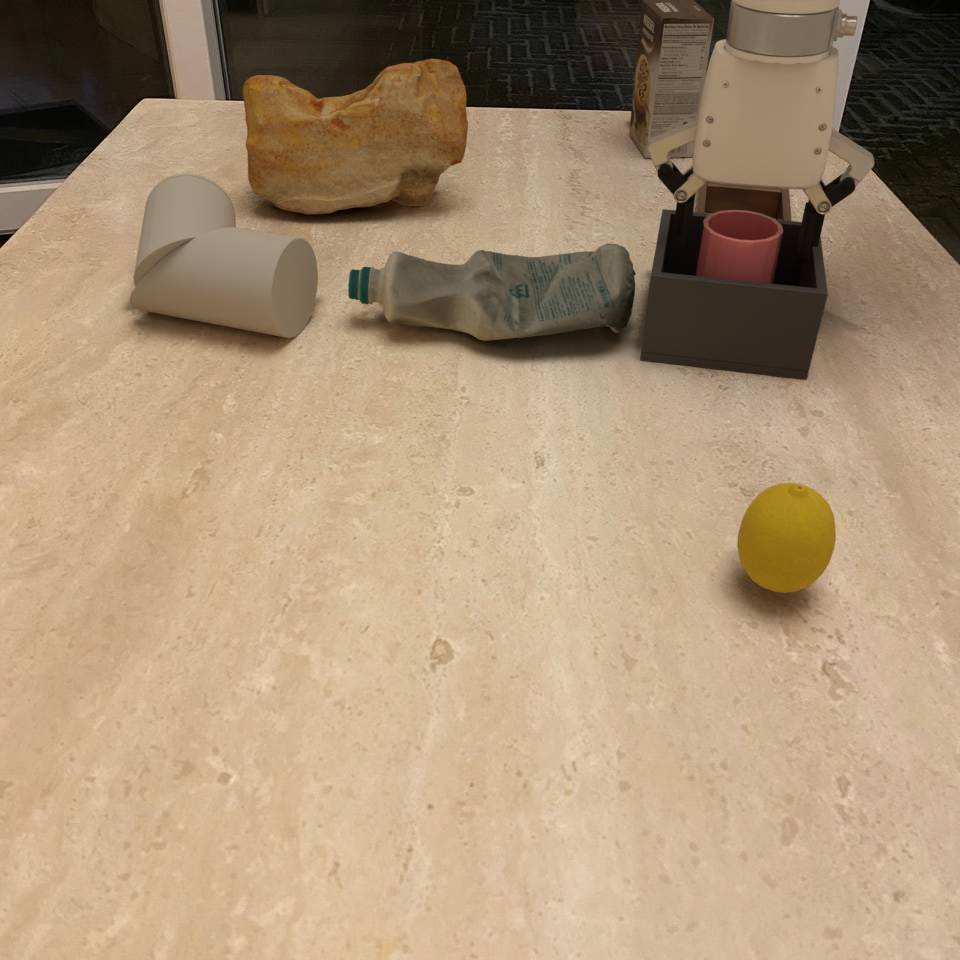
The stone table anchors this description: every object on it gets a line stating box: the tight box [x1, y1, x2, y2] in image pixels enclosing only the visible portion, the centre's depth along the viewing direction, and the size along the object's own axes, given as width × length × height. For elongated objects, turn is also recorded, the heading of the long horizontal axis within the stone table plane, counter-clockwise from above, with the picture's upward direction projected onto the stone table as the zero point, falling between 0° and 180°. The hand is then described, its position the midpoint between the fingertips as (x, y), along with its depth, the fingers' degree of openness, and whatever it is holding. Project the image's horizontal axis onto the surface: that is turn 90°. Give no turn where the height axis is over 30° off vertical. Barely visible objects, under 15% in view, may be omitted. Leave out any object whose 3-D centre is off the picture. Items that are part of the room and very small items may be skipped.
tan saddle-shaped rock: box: [242, 58, 469, 215], centre depth 108 cm, size 23×17×15 cm
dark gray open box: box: [640, 208, 829, 380], centre depth 86 cm, size 14×14×8 cm
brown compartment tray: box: [694, 182, 793, 221], centre depth 108 cm, size 9×18×3 cm, turn 168°
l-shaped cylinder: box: [129, 172, 319, 339], centre depth 89 cm, size 18×11×20 cm
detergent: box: [347, 243, 637, 342], centre depth 87 cm, size 13×7×25 cm
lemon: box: [737, 482, 837, 593], centre depth 60 cm, size 6×6×8 cm
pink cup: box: [695, 210, 783, 284], centre depth 85 cm, size 6×6×9 cm
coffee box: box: [628, 0, 715, 159], centre depth 120 cm, size 9×6×16 cm
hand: (742, 247), depth 83 cm, fingers open, 9 cm apart
